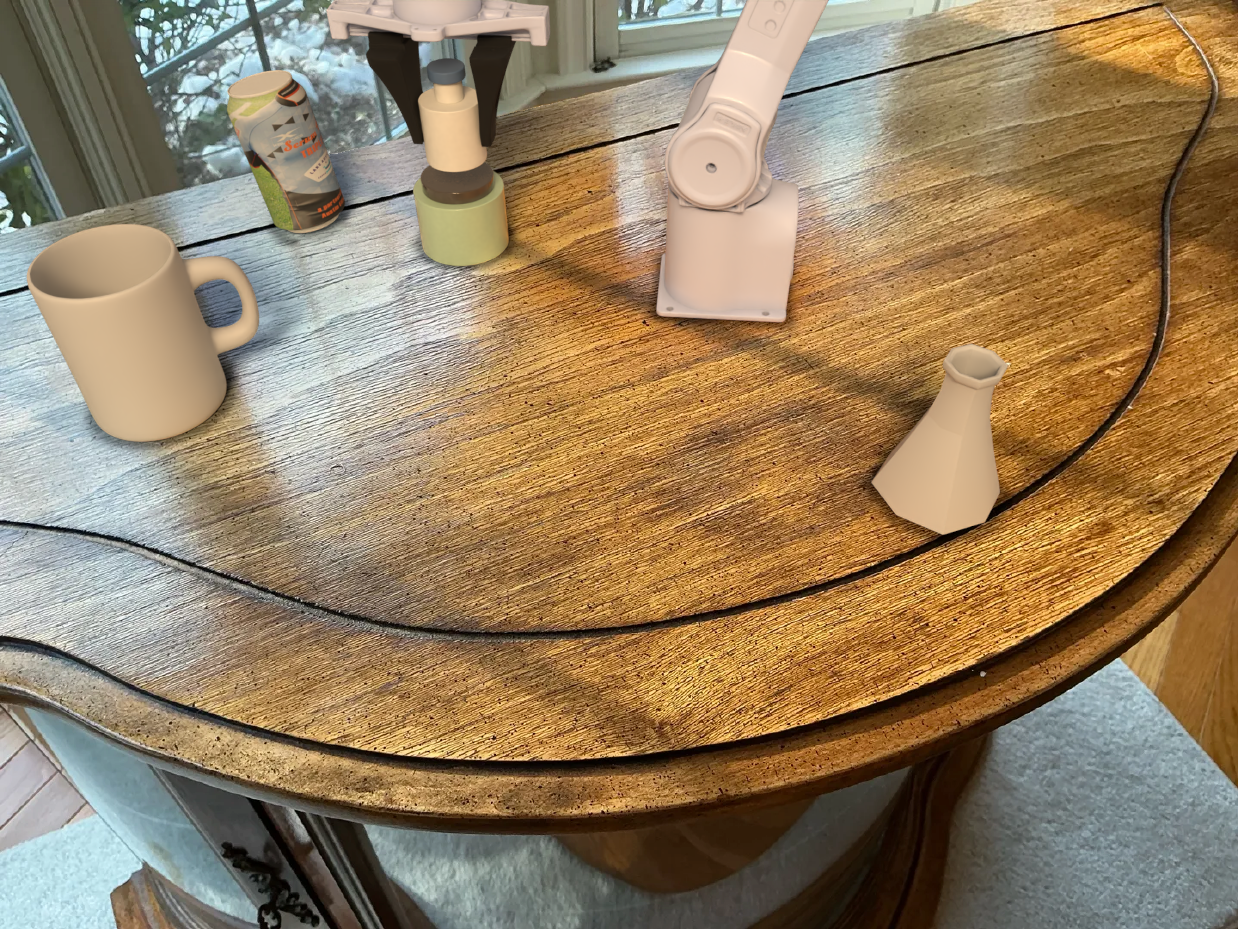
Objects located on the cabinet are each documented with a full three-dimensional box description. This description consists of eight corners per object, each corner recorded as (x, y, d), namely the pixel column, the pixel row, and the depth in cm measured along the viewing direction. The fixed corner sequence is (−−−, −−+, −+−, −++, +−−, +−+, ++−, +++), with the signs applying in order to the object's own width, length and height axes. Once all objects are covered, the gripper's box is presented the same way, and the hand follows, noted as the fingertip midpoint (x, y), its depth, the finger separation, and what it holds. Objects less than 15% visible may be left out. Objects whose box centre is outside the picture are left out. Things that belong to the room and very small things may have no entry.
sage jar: (515, 221, 82) (509, 154, 78) (500, 268, 77) (493, 199, 73) (432, 217, 83) (422, 150, 78) (413, 264, 78) (401, 195, 73)
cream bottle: (491, 144, 74) (483, 53, 69) (481, 173, 71) (471, 80, 66) (433, 142, 74) (421, 51, 69) (420, 171, 71) (406, 77, 66)
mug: (103, 460, 62) (29, 318, 54) (87, 382, 67) (17, 243, 60) (293, 401, 66) (249, 261, 58) (263, 333, 71) (219, 196, 64)
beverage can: (331, 246, 79) (296, 102, 71) (246, 236, 80) (202, 93, 72) (360, 206, 84) (331, 66, 75) (280, 197, 85) (242, 58, 76)
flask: (925, 433, 64) (963, 306, 57) (1020, 497, 60) (1073, 369, 53) (849, 483, 60) (879, 355, 53) (944, 554, 56) (990, 426, 49)
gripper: (295, -48, 59) (340, 161, 69) (534, -41, 58) (546, 170, 68) (329, -84, 64) (367, 116, 74) (549, -78, 63) (558, 123, 73)
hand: (454, 139), depth 71 cm, fingers closed on cream bottle, 4 cm apart
